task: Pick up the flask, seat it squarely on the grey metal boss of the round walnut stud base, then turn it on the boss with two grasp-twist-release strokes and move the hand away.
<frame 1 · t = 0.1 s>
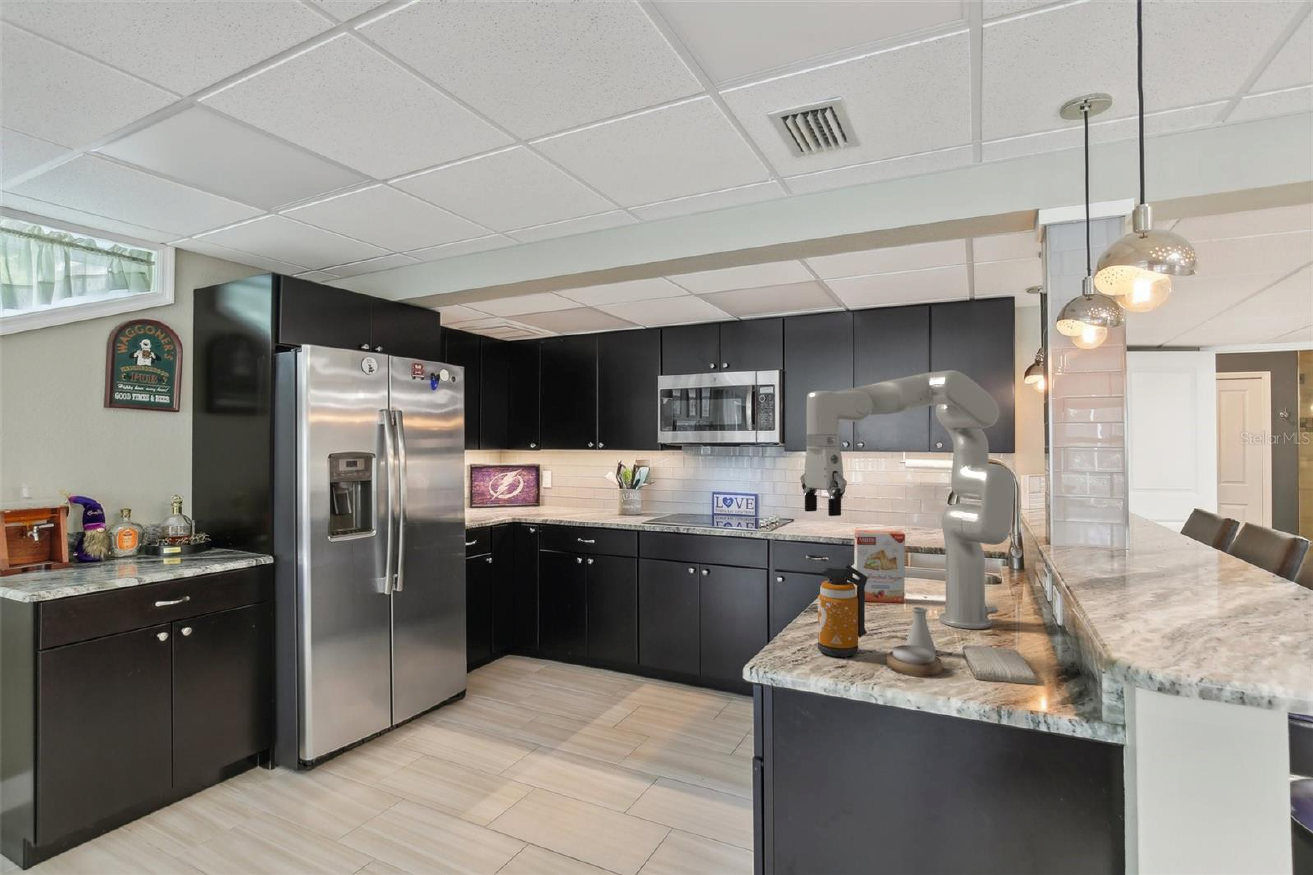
hand: (822, 513, 162), 31 cm above the countertop, tool pointing down, fingers open, 9 cm apart
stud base: (913, 667, 145), on the countertop
canister: (842, 653, 155), on the countertop
washcloth: (996, 671, 145), on the countertop
cracker box: (879, 600, 203), on the countertop
flask: (919, 652, 155), on the countertop
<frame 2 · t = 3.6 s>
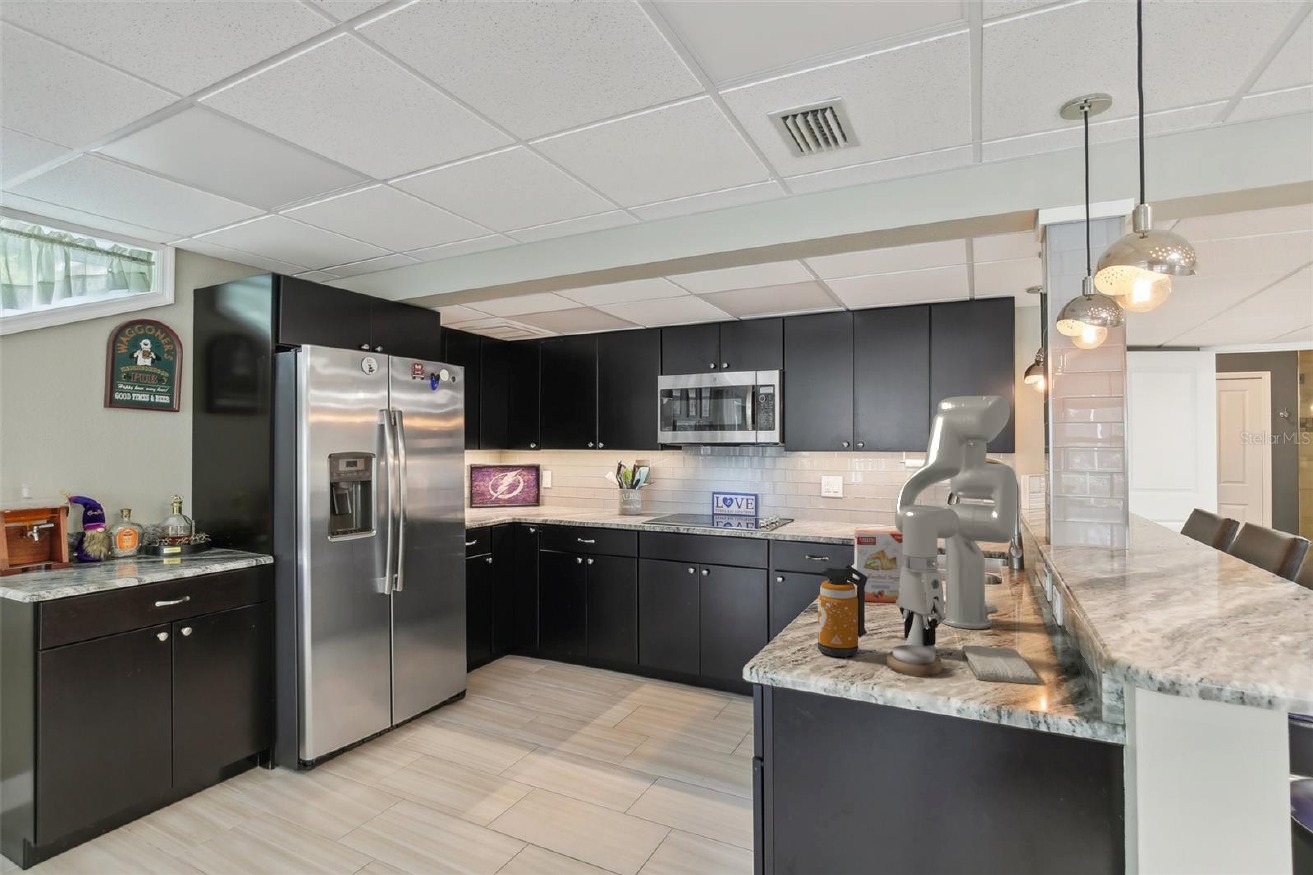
hand: (919, 640, 155), 2 cm above the countertop, tool pointing down, fingers closed on flask, 5 cm apart
flask: (919, 652, 155), on the countertop, touching gripper
everything else where it was.
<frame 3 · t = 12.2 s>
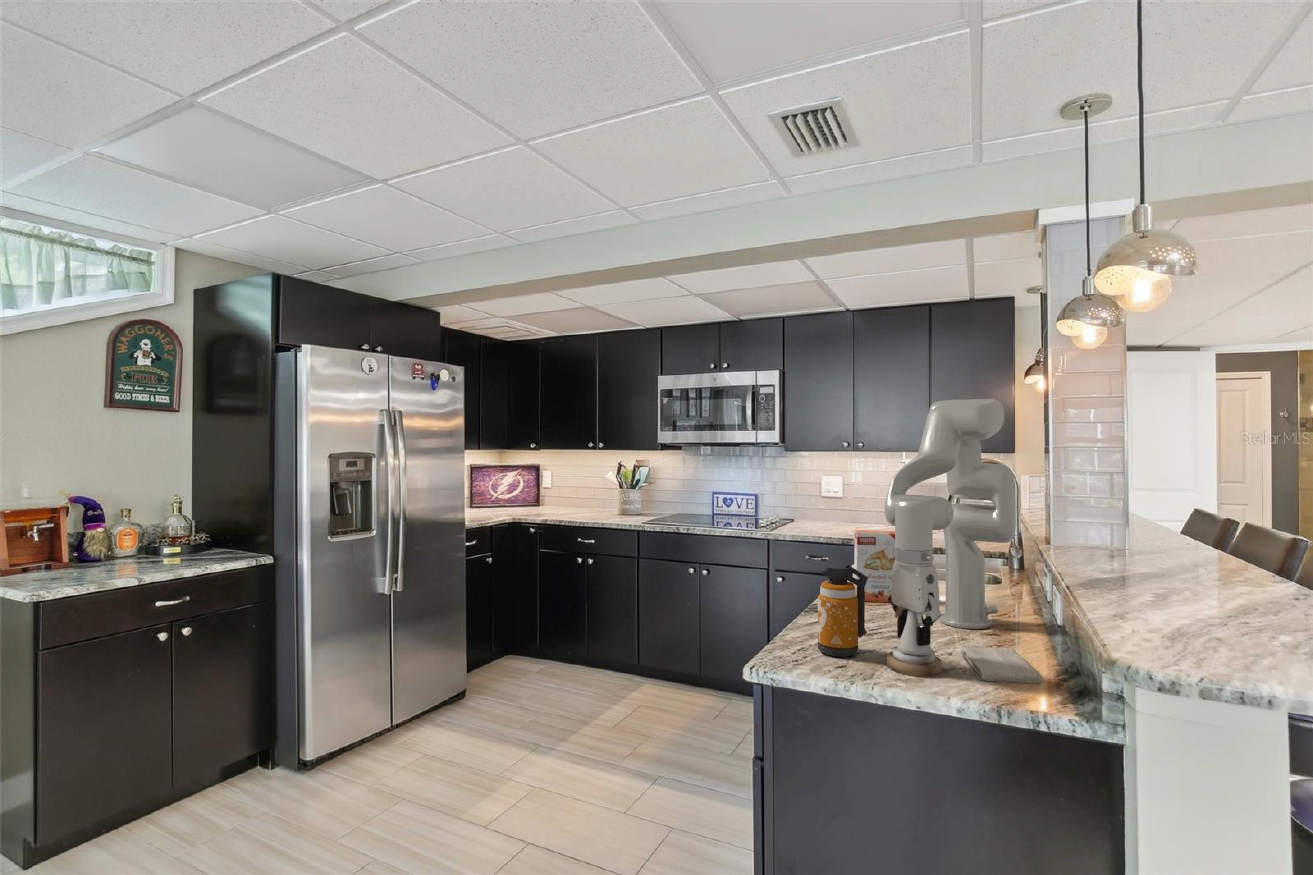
hand: (913, 640, 145), 6 cm above the countertop, tool pointing down, fingers closed on flask, 5 cm apart
flask: (914, 652, 145), point 3 cm above the countertop, touching gripper, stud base
everything else where it was.
when the fingers open (7 cm above the countertop, at t = 15.9 s): flask stays where it is, resting on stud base.
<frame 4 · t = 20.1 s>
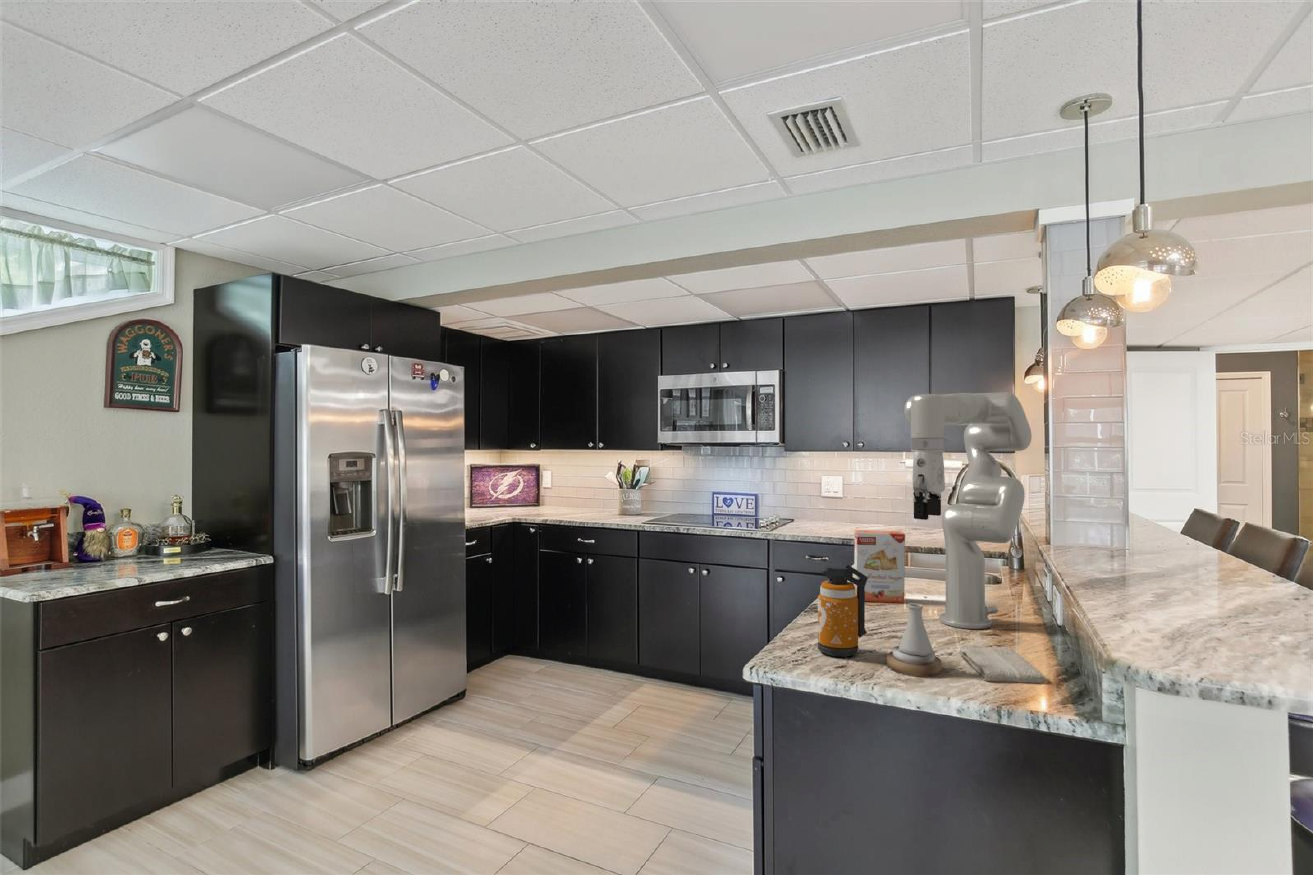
hand: (927, 517, 161), 30 cm above the countertop, tool pointing down, fingers open, 9 cm apart
flask: (915, 652, 145), point 3 cm above the countertop, touching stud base
everything else where it was.
at the end: flask 0.4 cm off-centre on the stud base, point 3.3 cm above the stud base's base; flask tilted 0°; the gripper is holding nothing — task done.
